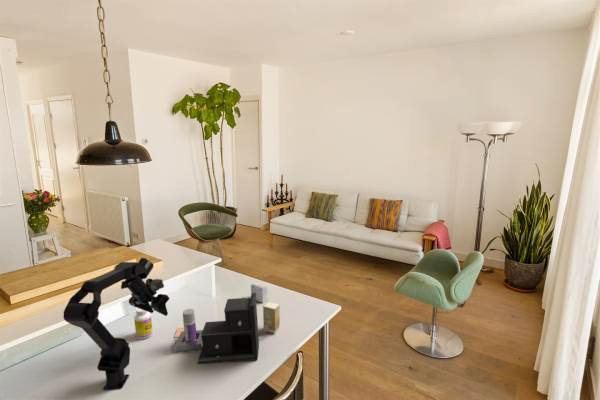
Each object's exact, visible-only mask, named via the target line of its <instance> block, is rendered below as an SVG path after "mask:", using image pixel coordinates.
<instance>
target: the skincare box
mask: <svg viewBox="0 0 600 400" xmlns="http://www.w3.org/2000/svg"><path fill="white" fill-rule="evenodd" d="M280 308H281V307H280V304H278V303H274V302H270V301H266V302H265V304H264V305H263V307H262V312H263V313H262V314H263V317H262V319H263V323H262V324H263V331H264V332H266V333H270V334H274V335H276V334H277V333H278V332H279V331H280V326H281V325H280V323H281V322H280V321H281V320H280V317H281V316H280V315H281V314H280Z"/></svg>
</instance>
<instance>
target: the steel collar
mask: <svg viewBox="0 0 600 400" xmlns="http://www.w3.org/2000/svg"><path fill="white" fill-rule="evenodd" d="M202 331H203V329H200V330H197V329H196V335H197V342H185V334H184V331H183V332H181V334H180V336H179V338H177V341H176V343H175V346H174V348H175V353H188V352H189V353H190V352H201V349H202V347H203V345H202V337H201V334H202Z"/></svg>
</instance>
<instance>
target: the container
mask: <svg viewBox="0 0 600 400" xmlns="http://www.w3.org/2000/svg"><path fill="white" fill-rule="evenodd" d="M182 321H183V328H184V334H185V342H197V340H198V339H197V335H196V331H197V327H196V315H195V309H193V308H187V309H185V310H183V312H182Z"/></svg>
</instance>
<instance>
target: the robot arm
mask: <svg viewBox="0 0 600 400" xmlns="http://www.w3.org/2000/svg"><path fill="white" fill-rule="evenodd" d="M153 268H154V263H152V262H151V261H150V260H148V259H147V258H146V257H141V258H140V259H139V261H138V262H134V261H133V262H132V261H120V262H118V264H115V266H114V269H112V270H111V271H108V272H106V273H103V274H100V275H99V276H97V277H94V278H92V279H89V280H87V281H86V280H85V281H84V282H83V283H82V286H81V287H80V289H79V290H78V291H77V292H75V293H74V294H73V295H72V296H71V297H70V298H69V299H68V303H67V305H66V306H65V308H64V310H63V316H62V317H63V319H64V321H65V322H67V323H68V324H70V325H72V326H75V327H78V328H80V329H82V330H83V331H84V332H85V333H86V334H87V335H88V337H90V339H91V340H92V341H94V343H95V344H96V345H97V346H98V347H99V348H100V353H99V354H100V358H99V361H98V363H97V366H96V369H97V370H98V372H101V371H102V372H105V378H106V379H105V380H106V383H105V384H104V386H103V387H102V389H103V391H104V390H115V389H122V388H123V387H124V386H125V384H126V382H127V381H128V379H129V377H130V374H125V369H126V368H127V367H128V366H129V365H130V360H131V359H130V357H131V356H130V355H131V347H130V346H129V345H130V343H129V342H127V340H126V339H125V338H124V337H114V336H113V334H112V333H111V332H110V331H109V330H108V328H107V327H106V326H105V325H104V324H103V322H101V321H100V319H99V315H100V311H99V309H100V306H101V305H102V297H101V294H102V292H103V290H106V289H108V288H109V287H111V286H113V285H115V284H117V283H119V282H121V286H120V289H122V290H123V289H128V290H129V291H130V295H131V297H129V299H128V303H129V305H130V306H132V307H135V308H136V309H137V308H139V309H142V310H145V311H147V312H150V314H154V312H156V313H159V314H161V315H163V316H164V317H167V316H168V315H169V314H168V307H167V302H168V301H170V297H169V295H168V294H165V293H164V294H163V293H158V292H157V291H160V290H161V289H164V288H165V285H164V282H163V279H159V278H155V279H154V278H153V279H152V278H148V277H149V275H150V273H151V272H152V270H153ZM147 278H148V279H147ZM144 280H145V281H144ZM157 293H158V294H157ZM89 294H92V296H93V298H92V299H93V300H92V301H91V302H81V301H82V300H83V299H85V298H86V297H87V296H88V295H89ZM155 295H156V296H155Z"/></svg>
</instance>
